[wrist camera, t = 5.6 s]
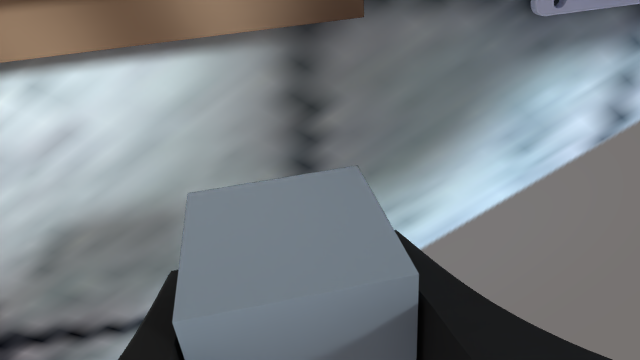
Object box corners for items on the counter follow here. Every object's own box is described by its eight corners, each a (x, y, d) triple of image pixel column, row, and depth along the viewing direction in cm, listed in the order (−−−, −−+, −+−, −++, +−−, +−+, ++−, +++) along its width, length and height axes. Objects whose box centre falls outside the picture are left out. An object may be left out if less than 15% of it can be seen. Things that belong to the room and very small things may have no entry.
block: (357, 165, 12) (419, 274, 9) (363, 290, 15) (414, 421, 11) (187, 193, 12) (172, 322, 8) (220, 318, 14) (221, 467, 10)
